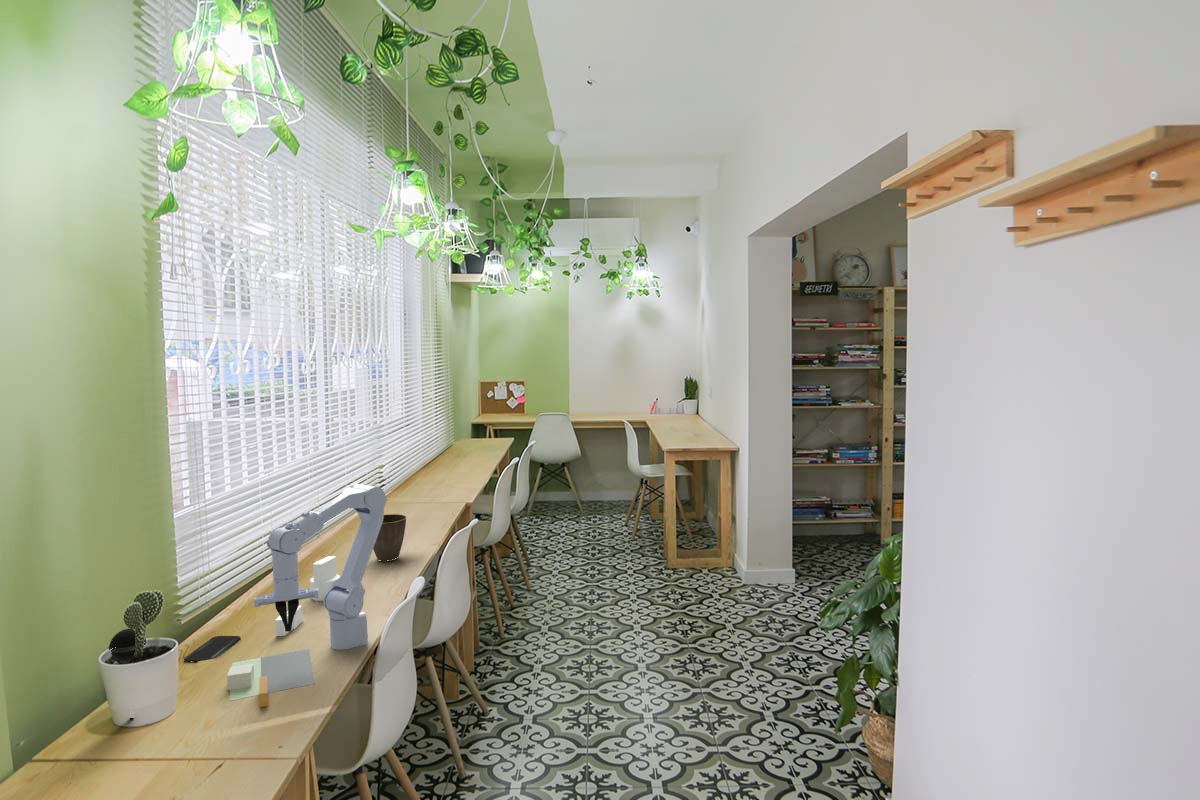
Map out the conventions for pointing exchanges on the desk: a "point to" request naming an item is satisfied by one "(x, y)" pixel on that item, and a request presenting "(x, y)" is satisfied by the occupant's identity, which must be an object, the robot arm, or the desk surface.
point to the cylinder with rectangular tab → (324, 576)
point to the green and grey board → (277, 673)
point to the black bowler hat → (123, 645)
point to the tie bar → (263, 691)
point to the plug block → (240, 676)
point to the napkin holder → (280, 625)
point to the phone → (212, 648)
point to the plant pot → (390, 537)
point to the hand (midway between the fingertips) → (288, 629)
